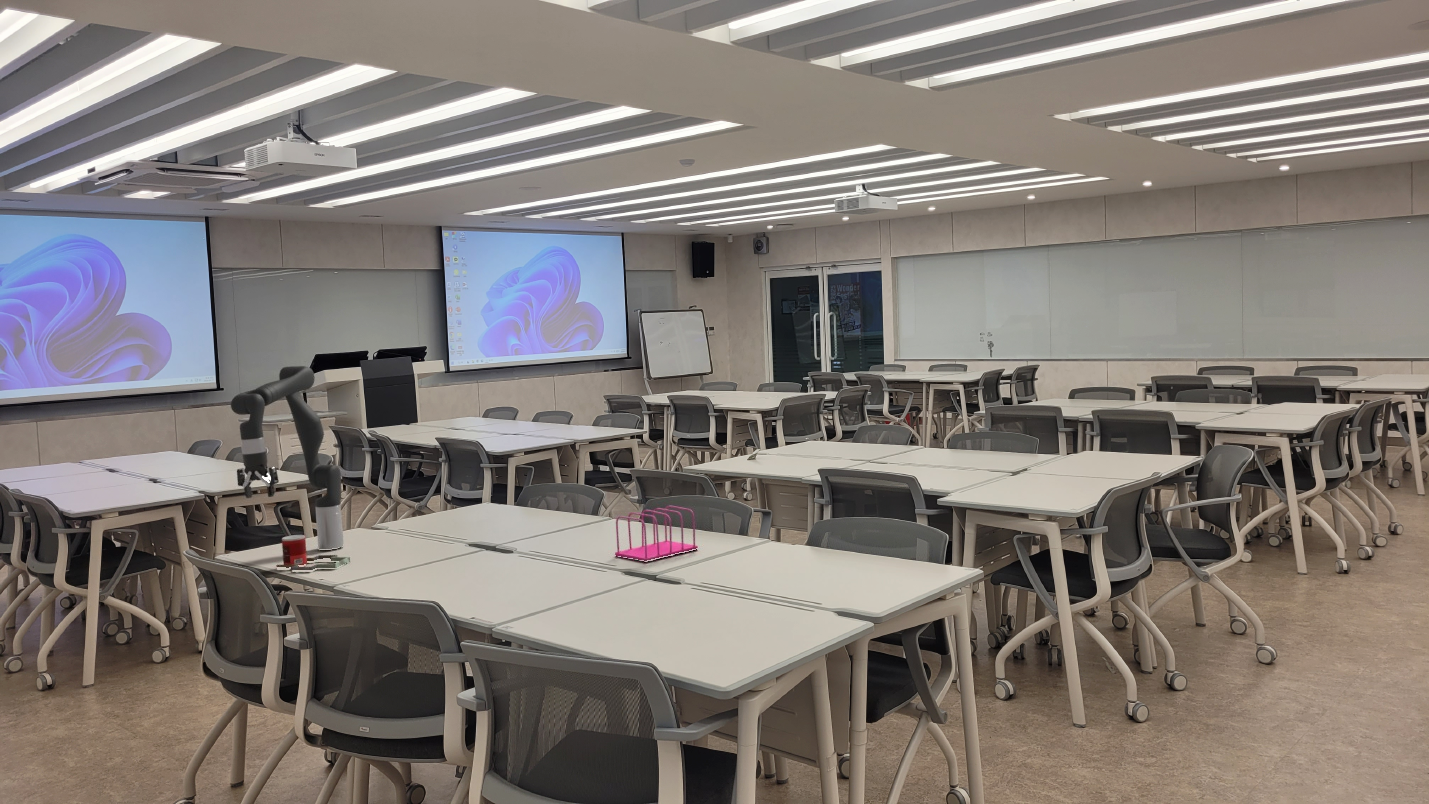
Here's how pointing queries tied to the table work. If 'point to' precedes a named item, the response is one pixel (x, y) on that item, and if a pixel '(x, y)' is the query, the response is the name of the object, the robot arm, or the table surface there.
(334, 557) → the trap track
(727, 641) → the table surface
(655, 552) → the file sorter
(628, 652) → the table surface
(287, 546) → the canned food
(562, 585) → the table surface
